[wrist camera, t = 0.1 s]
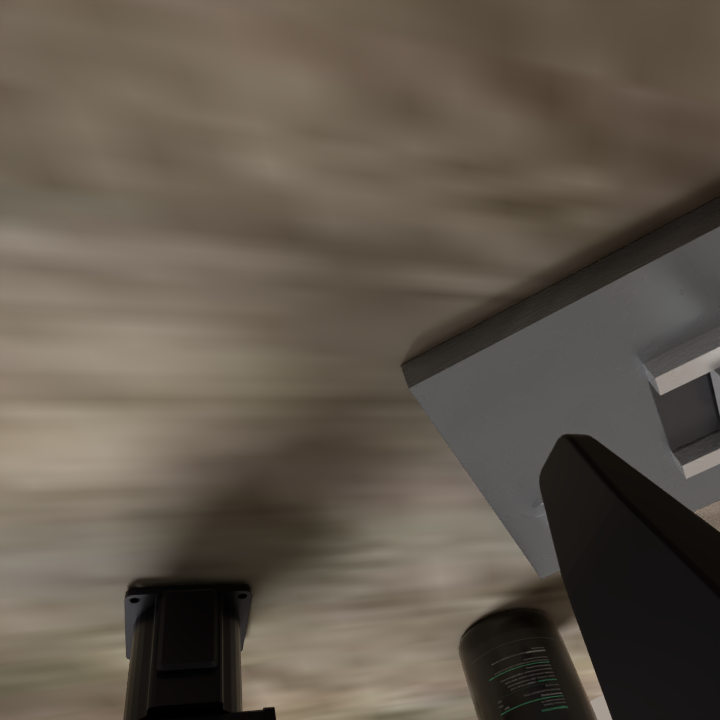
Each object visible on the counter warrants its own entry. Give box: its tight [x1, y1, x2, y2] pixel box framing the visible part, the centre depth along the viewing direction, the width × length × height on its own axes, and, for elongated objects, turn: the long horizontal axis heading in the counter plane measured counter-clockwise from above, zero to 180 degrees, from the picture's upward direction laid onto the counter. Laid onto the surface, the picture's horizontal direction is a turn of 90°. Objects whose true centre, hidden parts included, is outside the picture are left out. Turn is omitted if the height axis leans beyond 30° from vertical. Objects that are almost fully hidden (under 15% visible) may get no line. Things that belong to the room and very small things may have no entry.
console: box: [401, 197, 720, 579], centre depth 30 cm, size 24×18×2 cm
